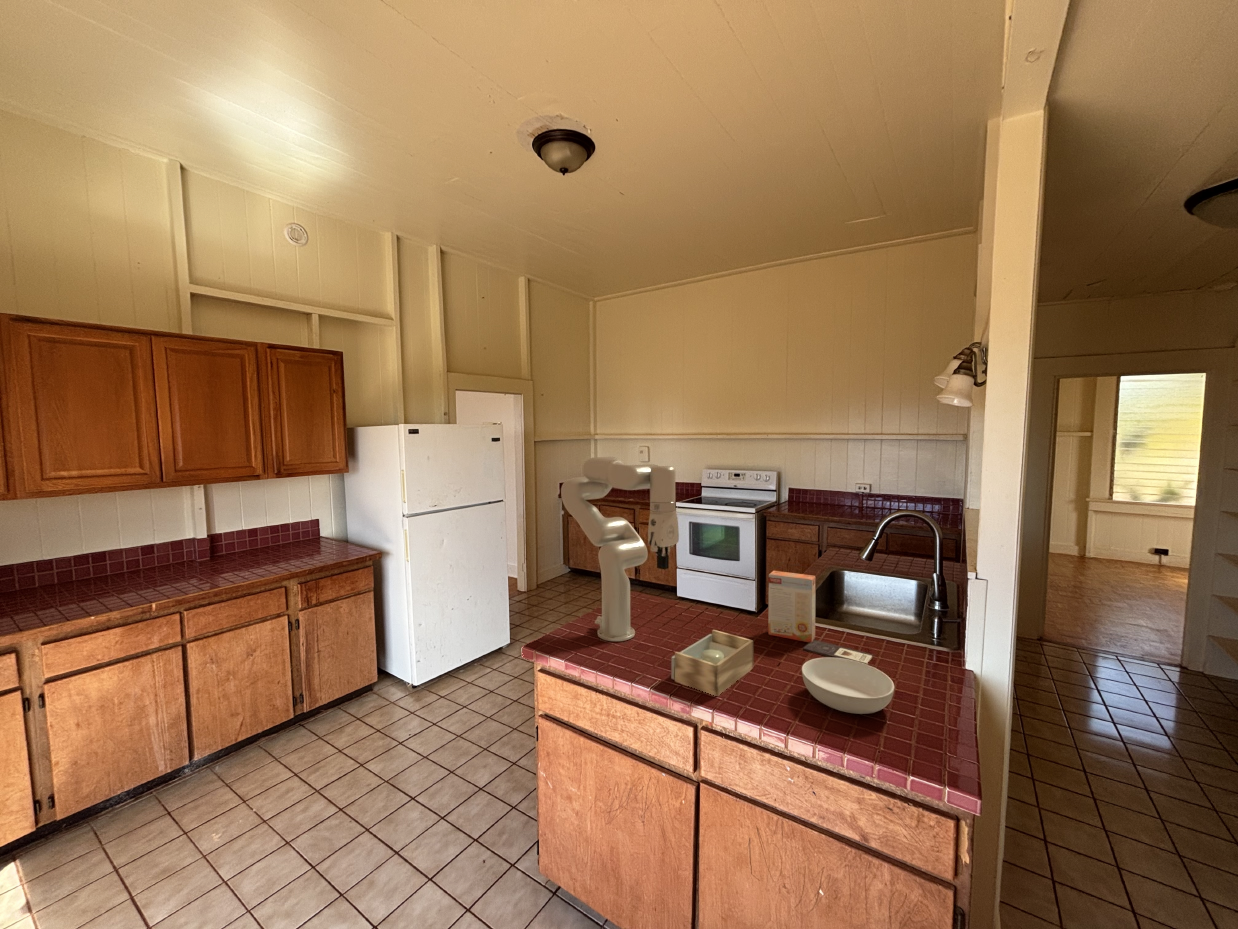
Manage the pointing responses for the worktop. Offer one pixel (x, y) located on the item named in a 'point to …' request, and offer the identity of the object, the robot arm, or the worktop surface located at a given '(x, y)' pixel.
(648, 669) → the worktop surface
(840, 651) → the chocolate bar
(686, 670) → the sleeve
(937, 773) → the worktop surface
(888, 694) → the serving bowl
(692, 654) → the tray
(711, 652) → the cream glossy rounded part
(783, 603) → the cracker box
